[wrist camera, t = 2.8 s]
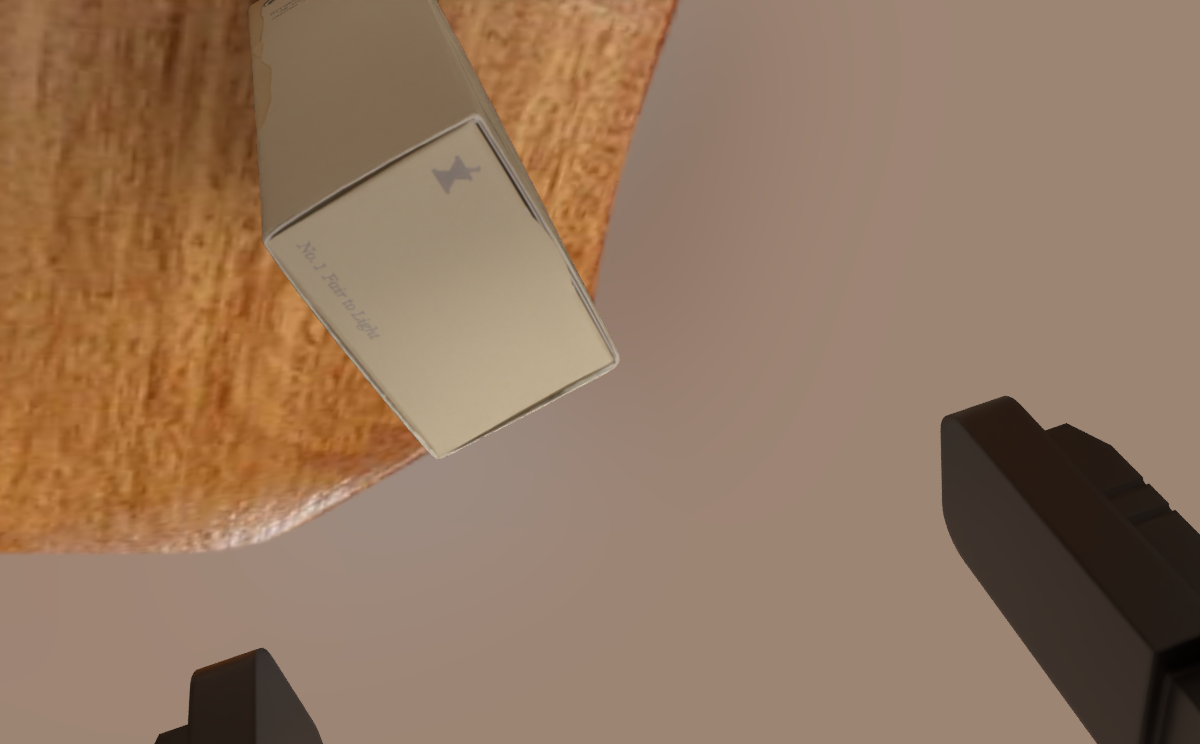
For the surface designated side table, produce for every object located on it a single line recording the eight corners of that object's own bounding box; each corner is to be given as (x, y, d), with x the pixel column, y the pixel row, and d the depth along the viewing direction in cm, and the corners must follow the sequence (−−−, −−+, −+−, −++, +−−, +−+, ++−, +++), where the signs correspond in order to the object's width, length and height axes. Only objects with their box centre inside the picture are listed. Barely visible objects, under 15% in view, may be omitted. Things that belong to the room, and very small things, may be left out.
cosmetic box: (243, 4, 28) (236, 230, 18) (398, -84, 27) (477, 97, 18) (375, 201, 31) (429, 474, 22) (513, 126, 31) (629, 368, 22)
